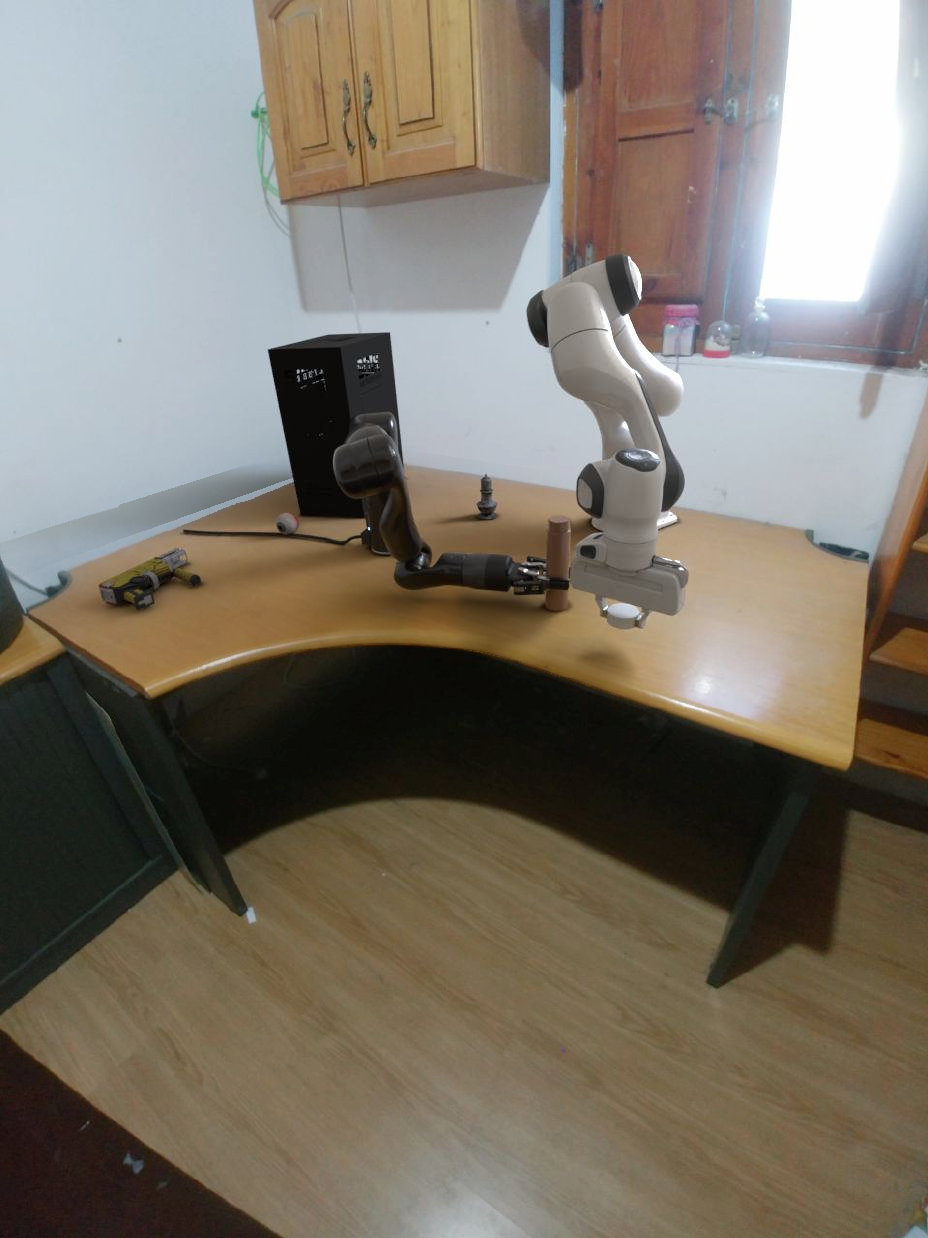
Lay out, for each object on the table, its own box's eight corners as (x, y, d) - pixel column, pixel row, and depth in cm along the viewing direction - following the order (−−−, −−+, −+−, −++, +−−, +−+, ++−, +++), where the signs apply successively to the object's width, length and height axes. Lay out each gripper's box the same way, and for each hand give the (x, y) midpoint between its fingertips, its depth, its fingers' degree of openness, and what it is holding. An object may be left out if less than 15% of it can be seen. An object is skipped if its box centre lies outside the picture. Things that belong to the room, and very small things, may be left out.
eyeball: (273, 537, 164) (268, 516, 161) (287, 528, 169) (282, 508, 166) (291, 539, 161) (286, 518, 158) (305, 530, 166) (301, 510, 163)
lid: (601, 623, 108) (601, 612, 106) (615, 611, 111) (616, 600, 110) (630, 632, 104) (631, 621, 103) (643, 619, 108) (644, 608, 107)
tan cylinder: (565, 599, 125) (569, 514, 116) (569, 610, 121) (573, 522, 112) (544, 600, 125) (545, 515, 116) (546, 611, 121) (548, 523, 112)
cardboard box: (364, 517, 173) (340, 346, 151) (300, 515, 178) (267, 349, 155) (404, 478, 205) (390, 332, 182) (349, 476, 209) (328, 334, 187)
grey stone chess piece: (496, 519, 166) (494, 477, 160) (475, 519, 167) (473, 476, 161) (499, 512, 171) (498, 470, 165) (478, 511, 172) (477, 470, 166)
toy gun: (224, 556, 146) (173, 545, 150) (148, 597, 126) (92, 584, 130) (226, 573, 148) (177, 563, 152) (152, 617, 128) (97, 603, 132)
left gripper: (477, 570, 116) (566, 577, 111) (495, 541, 128) (576, 547, 123) (479, 604, 120) (565, 612, 115) (496, 573, 132) (575, 579, 127)
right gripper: (697, 557, 97) (685, 630, 104) (584, 532, 109) (580, 599, 116) (682, 571, 93) (671, 646, 100) (566, 543, 105) (563, 613, 111)
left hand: (570, 578), depth 119 cm, fingers closed on tan cylinder, 4 cm apart
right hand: (621, 621), depth 108 cm, fingers closed on lid, 5 cm apart
